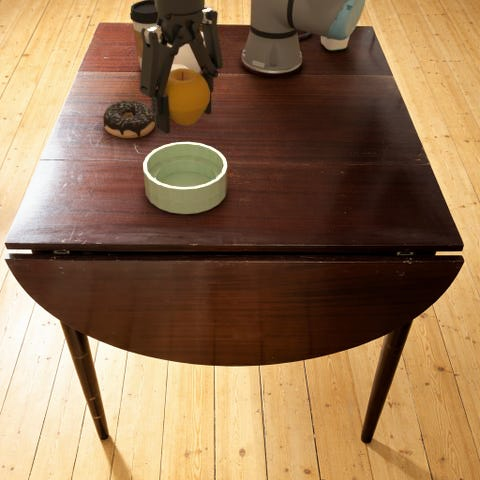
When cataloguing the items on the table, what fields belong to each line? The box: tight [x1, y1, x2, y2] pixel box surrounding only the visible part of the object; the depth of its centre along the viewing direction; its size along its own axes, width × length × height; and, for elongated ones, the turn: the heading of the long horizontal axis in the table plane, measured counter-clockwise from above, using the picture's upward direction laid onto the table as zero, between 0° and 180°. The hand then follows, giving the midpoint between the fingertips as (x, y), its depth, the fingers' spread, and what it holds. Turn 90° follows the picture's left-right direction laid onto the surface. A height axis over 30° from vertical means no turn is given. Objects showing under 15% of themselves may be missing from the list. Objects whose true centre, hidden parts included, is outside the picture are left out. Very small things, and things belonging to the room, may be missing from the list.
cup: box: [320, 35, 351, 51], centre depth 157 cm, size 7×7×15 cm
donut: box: [102, 99, 156, 139], centre depth 131 cm, size 11×12×4 cm
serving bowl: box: [142, 141, 228, 215], centre depth 115 cm, size 15×15×6 cm
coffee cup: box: [129, 0, 161, 70], centre depth 146 cm, size 8×8×15 cm
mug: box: [167, 31, 206, 73], centre depth 143 cm, size 12×8×11 cm
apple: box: [164, 68, 210, 126], centre depth 103 cm, size 9×9×9 cm
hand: (184, 120), depth 106 cm, fingers closed on apple, 9 cm apart
